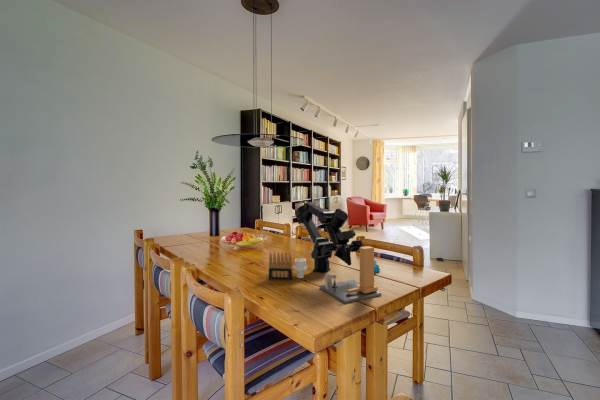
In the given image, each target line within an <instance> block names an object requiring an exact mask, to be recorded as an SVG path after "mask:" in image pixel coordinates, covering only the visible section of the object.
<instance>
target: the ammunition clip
mask: <svg viewBox="0 0 600 400" xmlns="http://www.w3.org/2000/svg"><path fill="white" fill-rule="evenodd" d="M268 257H269V258H268V280H275V281H277V280H278V281H292V280H293V279H294V278H293V260H292V254H291V252H289V254H288V253H287V252H285V253H283V252H281V255H280V252H277V255H276V253H275V252H274V253H273V254H272V252H269V256H268Z"/></svg>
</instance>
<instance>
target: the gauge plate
mask: <svg viewBox="0 0 600 400" xmlns="http://www.w3.org/2000/svg"><path fill="white" fill-rule="evenodd" d="M332 279H333V282H332ZM336 279H337V274H326V275H324V284H322V285H320V286H319V289H320V290H323V291H324V292H325V293H327V294H328V295H330V296H332V297H334V298H335V299H336V300H339V301H340V302H341V303H343V304H350V303H355V302H358V301H363V300H368V299H371V298H375V297H379V296H382V292H381V291H378V290H377V291H375V292H370V293H366V294H365V293H363V292H361V291H358V292H353V293H350V294H348V293H347V290H348V289H353V288H357V285H360V281H358V280H355V279H349V280H344V281H336Z"/></svg>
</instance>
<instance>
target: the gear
mask: <svg viewBox="0 0 600 400" xmlns="http://www.w3.org/2000/svg"><path fill="white" fill-rule="evenodd" d="M380 271H381V268H380V265H378V264H377V260H374V273H380Z"/></svg>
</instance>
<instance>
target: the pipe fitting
mask: <svg viewBox="0 0 600 400" xmlns="http://www.w3.org/2000/svg"><path fill="white" fill-rule="evenodd" d="M308 268H309V266H308V265H307V259H306V258H303V257H301V258H295V259H294V265H293V266H292V271H293V270H294V271H296V278H297V279H304V278H305V271H307V270H308Z"/></svg>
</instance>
